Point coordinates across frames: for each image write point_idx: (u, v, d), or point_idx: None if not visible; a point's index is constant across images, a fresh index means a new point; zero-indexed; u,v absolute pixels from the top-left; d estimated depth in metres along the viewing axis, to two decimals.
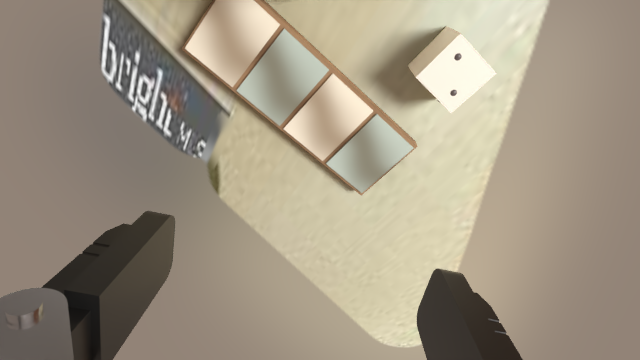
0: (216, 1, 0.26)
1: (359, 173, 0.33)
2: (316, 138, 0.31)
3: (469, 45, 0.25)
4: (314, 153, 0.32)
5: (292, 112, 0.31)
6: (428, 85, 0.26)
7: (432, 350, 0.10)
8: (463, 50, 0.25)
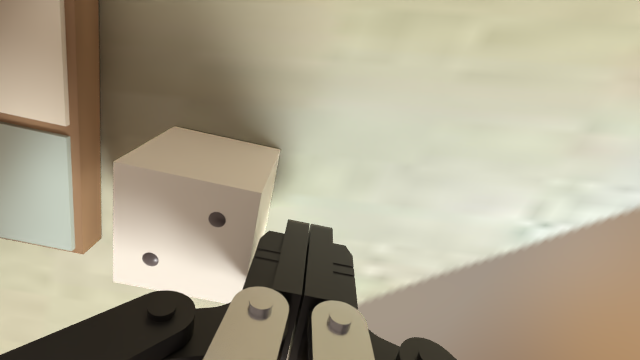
0: None
1: None
2: None
3: (252, 226, 0.10)
4: None
5: None
6: (121, 201, 0.10)
7: None
8: (235, 222, 0.10)
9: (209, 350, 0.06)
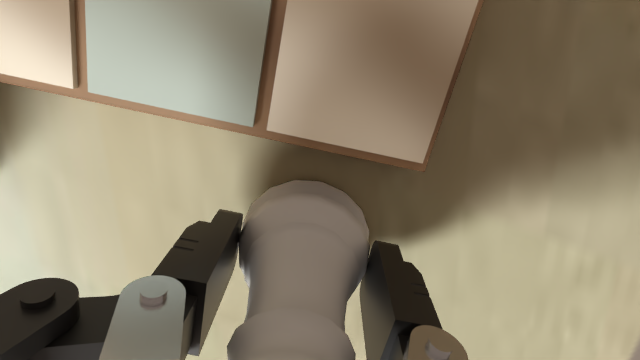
0: (441, 98, 0.10)
1: None
2: None
3: None
4: None
5: None
6: None
7: (366, 314, 0.11)
8: None
9: (103, 352, 0.06)
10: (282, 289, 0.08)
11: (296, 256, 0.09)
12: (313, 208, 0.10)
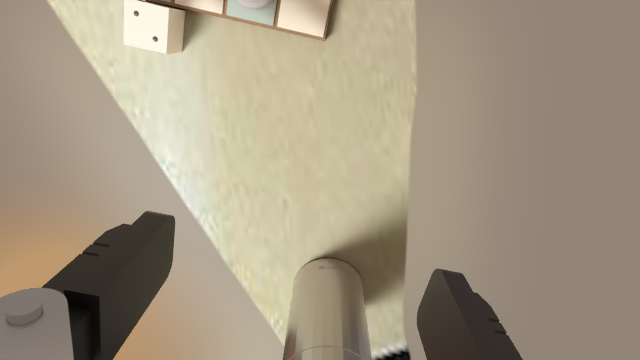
0: (326, 16, 0.34)
1: None
2: None
3: (155, 50, 0.34)
4: None
5: None
6: (156, 7, 0.32)
7: (432, 350, 0.10)
8: (155, 45, 0.33)
9: None
10: None
11: None
12: None
